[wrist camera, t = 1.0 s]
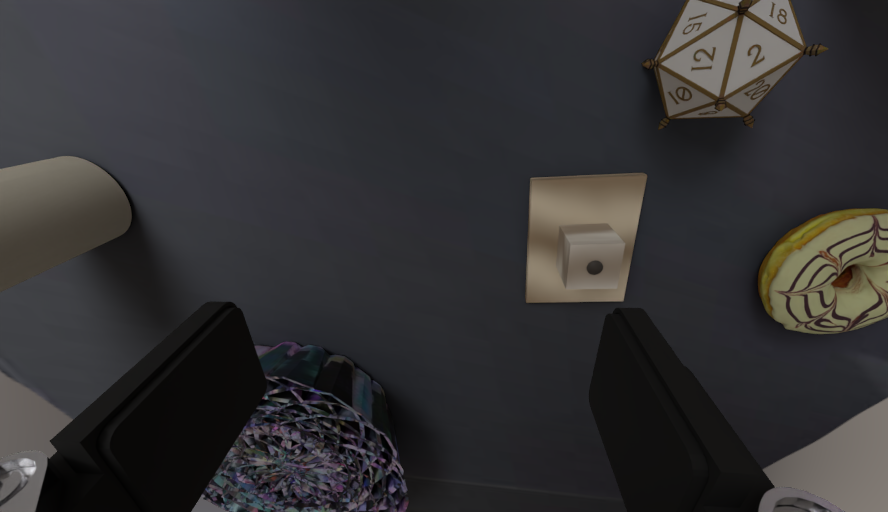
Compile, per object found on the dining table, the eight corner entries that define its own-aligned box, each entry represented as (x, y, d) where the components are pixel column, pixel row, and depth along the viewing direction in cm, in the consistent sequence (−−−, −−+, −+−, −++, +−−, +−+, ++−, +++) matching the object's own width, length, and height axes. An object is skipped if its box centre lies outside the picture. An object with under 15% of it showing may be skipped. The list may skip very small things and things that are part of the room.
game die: (687, 46, 28) (870, 27, 21) (637, 146, 29) (796, 163, 21) (646, -43, 23) (875, -114, 15) (585, 83, 23) (774, 76, 16)
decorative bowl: (269, 462, 54) (232, 541, 46) (162, 327, 41) (82, 404, 32) (434, 453, 51) (428, 537, 42) (380, 301, 37) (354, 381, 28)
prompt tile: (530, 177, 30) (540, 196, 26) (642, 172, 29) (673, 190, 25) (525, 298, 36) (532, 330, 31) (620, 296, 35) (641, 329, 30)
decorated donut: (797, 334, 36) (834, 365, 32) (717, 275, 33) (747, 300, 30) (925, 251, 31) (985, 275, 27) (841, 174, 28) (895, 190, 25)
